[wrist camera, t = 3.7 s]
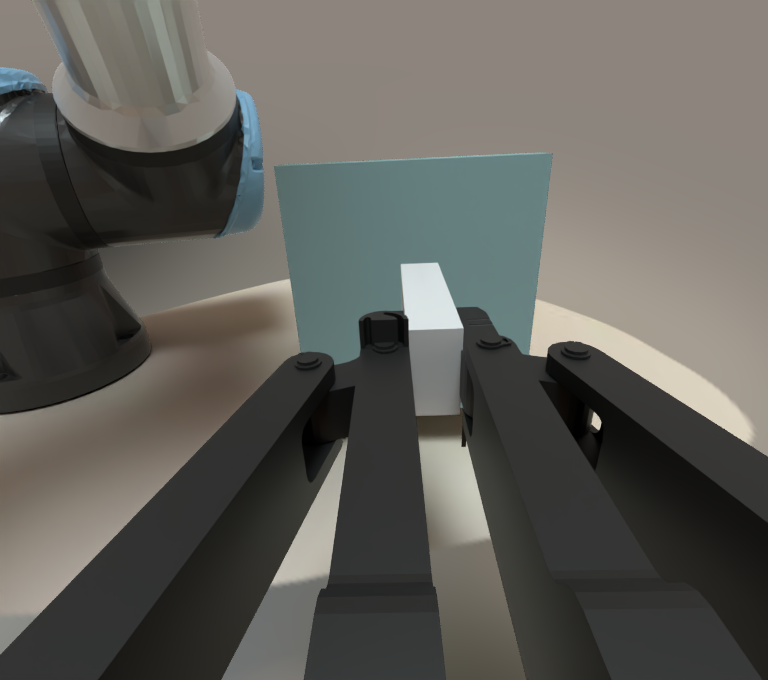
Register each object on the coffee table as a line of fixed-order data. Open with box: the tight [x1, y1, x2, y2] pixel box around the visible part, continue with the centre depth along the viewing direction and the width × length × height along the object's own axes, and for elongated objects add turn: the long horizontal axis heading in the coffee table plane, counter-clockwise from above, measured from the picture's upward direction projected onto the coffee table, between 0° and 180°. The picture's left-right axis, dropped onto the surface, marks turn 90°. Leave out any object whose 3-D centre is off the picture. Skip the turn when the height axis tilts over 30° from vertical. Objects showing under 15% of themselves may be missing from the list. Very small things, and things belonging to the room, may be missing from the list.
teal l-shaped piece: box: [274, 153, 553, 408], centre depth 31 cm, size 18×13×14 cm
